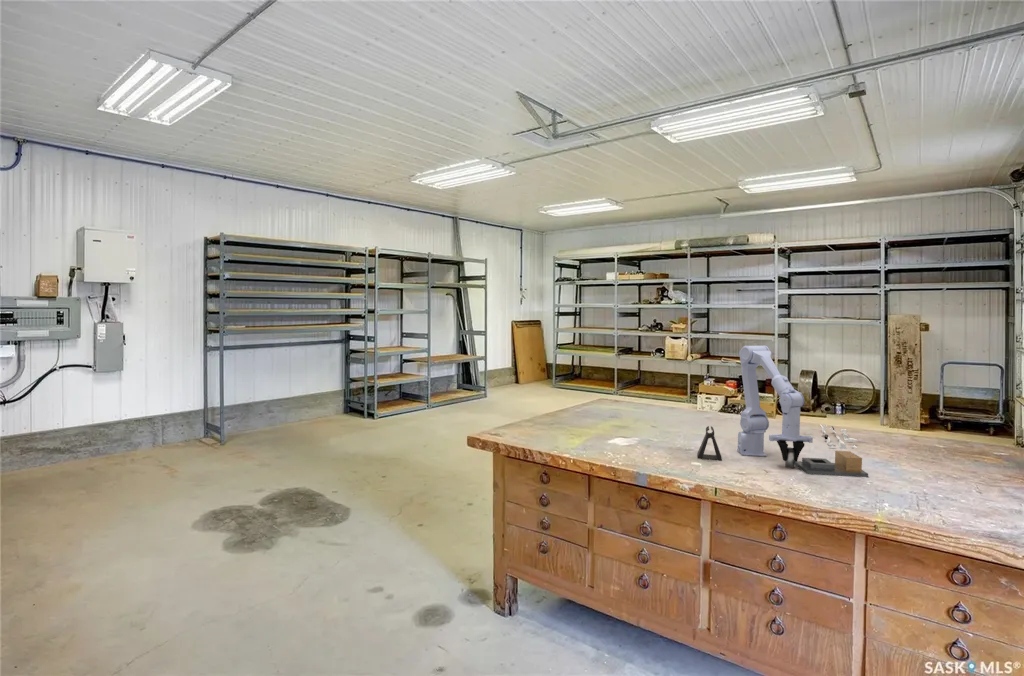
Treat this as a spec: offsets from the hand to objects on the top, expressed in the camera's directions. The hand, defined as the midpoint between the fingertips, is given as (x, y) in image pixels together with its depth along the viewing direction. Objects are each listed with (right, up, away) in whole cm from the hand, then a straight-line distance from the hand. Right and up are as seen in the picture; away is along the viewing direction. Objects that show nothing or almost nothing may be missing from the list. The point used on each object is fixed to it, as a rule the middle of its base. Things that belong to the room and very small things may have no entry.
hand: (789, 460), depth 195 cm
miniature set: (+43, -1, +40) cm, 59 cm away
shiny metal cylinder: (0, -2, 0) cm, 2 cm away
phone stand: (-25, -2, +13) cm, 28 cm away
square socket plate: (+12, -3, -4) cm, 13 cm away
